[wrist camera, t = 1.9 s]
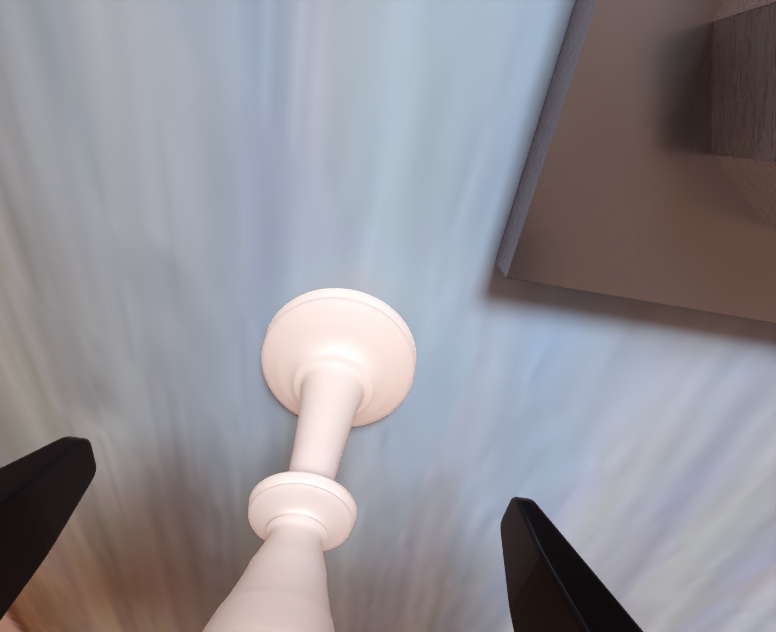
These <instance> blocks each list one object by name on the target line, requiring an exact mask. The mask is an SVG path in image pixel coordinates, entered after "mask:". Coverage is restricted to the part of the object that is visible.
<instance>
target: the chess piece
mask: <svg viewBox="0 0 776 632" xmlns="http://www.w3.org/2000/svg"><path fill="white" fill-rule="evenodd" d="M261 364H262V370H263V374H264V377H265V380H266V382H267V384H268V386H269V388H270V390H271V391H272V393H273V394H274V396H275V397H276V398H277V399H278V400H279V401H280V402H281V403H282V404H283V405H284V406H285V407H286V408H287V409H289V410H290V411H291V412H293V413H294V414H296V415H298V422H297V428H296V434H295V440H294V447H293V452H292V456H291V461H290V466H289V471H288V472H282V473H278V474H275V475H272V476H269V477H267V478H265V479H264V480H262V481H261V482H260V483H258V484H257V485H256V486H255V488H254V489H253V490H252V492H251V494H250V497H249V503H248V506H249V509H248V519H249V523H250V525H251V527H252V529H253V530H254V532H255V533H256V534H257V535H258V536H259V537H260V538H261V539H262V540H264V541H265V542H264V543H263V545H262V546H261V547H260V549H259V550H258V551H257V553H256V554H255V555H254V557H253V558H252V559H251V561H250V562H249V564H248V566H247V568H246V570H245V571H244V573H243V575H242V576H241V578H240V579H239V581H238V582H237V584H236V585H235V587H234V588H233V590H232V591H231V592H230V594H229V595H228V596H227V598H226V599H225V600H224V601H223V602H222V603H221V605H220V606H219V607H218V609H217V610H216V612H215V613H214V615H213V616H212V617H211V619H210V620H209V622H208V623H207V625H206V627H205V628H204V630H203V631H202V632H335V630H334V624H333V620H332V616H331V611H330V604H329V597H328V588H327V571H326V566H325V560H324V555H323V552H325V551H328V550H331V549H333V548H335V547H337V546H339V545H340V544H342V543H343V542H344V541H345V540H346V539H347V538H348V537H349V535H350V533H351V531H352V528H353V526H354V524H355V522H356V518H357V507H356V504H355V501H354V499H353V497H352V496H351V494H350V493H349V492H348V491H347V490H346V489H345V488H344V487H343V486H342V485H340V484H339V483H337V482H336V481H335V477H336V474H337V471H338V467H339V463H340V460H341V457H342V454H343V451H344V448H345V445H346V441H347V438H348V436H349V433H350V430H351V427H358V426H363V425H367V424H370V423H373V422H375V421H378V420H380V419H382V418H384V417H385V416H387V415H388V414H390V413H391V412H392V411H394V410H395V409H396V408H397V407H398V406H399V405H400V404H401V403H402V401H403V400H404V399H405V397H406V396H407V394H408V392H409V390H410V388H411V385H412V382H413V379H414V372H415V368H416V347H415V343H414V339H413V336H412V334H411V332H410V330H409V328H408V326H407V325H406V323H405V322H404V321H403V319H402V318H401V317H400V316H399V315H398V314H397V313H396V312H395V311H394V310H393V309H392V308H391V307H390V306H388V305H387V304H385V303H384V302H382V301H381V300H379V299H377V298H375V297H373V296H371V295H368V294H366V293H363V292H360V291H356V290H351V289H343V288H327V289H320V290H315V291H311V292H308V293H305V294H303V295H300V296H298V297H296V298H295V299H293V300H291V301H290V302H288V303H287V304H286V305H285V306H284V307H282V308H281V309H280V310H279V312H278V313H277V314H276V315H275V317H274V318H273V320H272V321H271V323H270V325H269V327H268V330H267V333H266V336H265V339H264V342H263V346H262V352H261Z"/></svg>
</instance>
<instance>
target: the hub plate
mask: <svg viewBox="0 0 776 632" xmlns="http://www.w3.org/2000/svg"><path fill="white" fill-rule="evenodd" d="M496 264H497V265H498V267H499V268H500V270H501V271H502V272H503V274H504V275H505V277H506V278H511V279H517V280H523V281H529V282H535V283H541V284H546V285H552V286H558V287H564V288H570V289H576V290H582V291H588V292H594V293H600V294H606V295H612V296H618V297H624V298H630V299H636V300H642V301H647V302H653V303H659V304H665V305H671V306H677V307H683V308H689V309H695V310H701V311H707V312H713V313H719V314H725V315H731V316H737V317H743V318H749V319H754V320H760V321H766V322H772V323H776V0H576V4H575V7H574V10H573V13H572V17H571V20H570V23H569V26H568V30H567V33H566V36H565V39H564V43H563V46H562V49H561V52H560V56H559V59H558V62H557V65H556V68H555V72H554V75H553V78H552V81H551V85H550V88H549V91H548V94H547V98H546V101H545V104H544V107H543V111H542V114H541V117H540V120H539V124H538V127H537V130H536V133H535V136H534V140H533V143H532V146H531V149H530V153H529V156H528V159H527V162H526V166H525V169H524V172H523V175H522V179H521V182H520V185H519V188H518V191H517V195H516V198H515V201H514V204H513V208H512V211H511V214H510V217H509V221H508V224H507V227H506V230H505V234H504V237H503V240H502V243H501V247H500V250H499V253H498V256H497V259H496Z"/></svg>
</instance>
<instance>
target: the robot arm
mask: <svg viewBox="0 0 776 632" xmlns="http://www.w3.org/2000/svg"><path fill="white" fill-rule="evenodd" d="M95 472H96V463H95V459H94V455H93V451H92V446H91V443H90V441H89V440H88V439H85V438H78V437H70V436H69V437H63V438H61V439H59V440H57V441H55V442H53V443H51V444H49V445H47V446H45V447H42V448H40V449H38V450H36V451H34V452H32V453H30V454H28V455H26V456H24V457H22V458H20V459H18V460H16V461H14V462H12V463H10V464H8V465H6V466H4V467H2V468H0V620H1V619H2V617H3V616H4V615H5V613H6V612H7V610H8V609H9V608H10V606H11V605H12V603H13V602H14V601H15V599H16V598H17V597H18V595H19V594H20V592H21V591H22V590H23V588H24V587H25V585H26V584H27V583H28V581H29V580H30V578H31V577H32V576H33V574H34V573H35V572H36V570H37V569H38V567H39V566H40V564H41V563H42V562H43V560H44V559H45V557H46V556H47V554H48V553H49V551H50V550H51V548H52V546H53V545H54V543H55V542H56V540H57V538H58V537H59V535H60V533H61V532H62V530H63V528H64V527H65V525H66V523H67V522H68V520H69V518H70V517H71V515H72V513H73V511H74V510H75V508H76V506H77V505H78V503H79V501H80V500H81V498H82V496H83V495H84V493H85V491H86V490H87V488H88V486H89V485H90V483H91V481H92V479H93V478H94V475H95ZM501 539H502V548H503V557H504V566H505V575H506V583H507V592H508V600H509V608H510V613H511V619H512V624H513V629H514V632H643V631H642V630H641V628H640V627H639V626H638V625H637V624H636V622H635V621H634V620H633V619H632V618H631V616H630V615H629V614H628V613H627V612H626V610H625V609H624V608H623V607H622V606H621V604H620V603H619V602H618V601H617V600H616V598H615V597H614V596H613V595H612V594H611V592H610V591H609V590H608V589H607V588H606V587H605V585H604V584H603V583H602V582H601V581H600V579H599V578H598V577H597V576H596V575H595V573H594V572H593V571H592V570H591V569H590V567H589V566H588V565H587V564H586V563H585V561H584V560H583V559H582V558H581V557H580V555H579V554H578V553H577V552H576V551H575V549H574V548H573V547H572V546H571V545H570V543H569V542H568V541H567V540H566V539H565V537H564V536H563V535H562V534H561V533H560V532H559V530H558V529H557V528H556V527H555V526H554V524H553V523H552V522H551V521H550V520H549V518H548V517H547V516H546V515H545V514H544V512H543V511H542V510H541V509H540V508H539V506H538V505H537V504H536V503H535V502H534V501H533V500H531V499H528V498H521V497H514V498H512V499H511V501H510V503H509V505H508V507H507V509H506V512H505V514H504V516H503V518H502V521H501Z"/></svg>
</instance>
